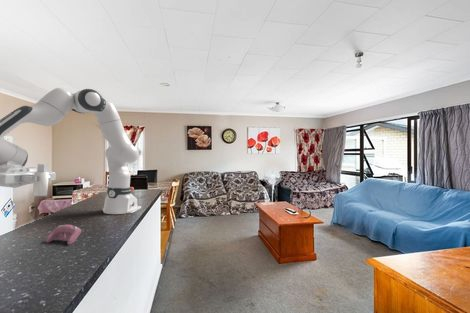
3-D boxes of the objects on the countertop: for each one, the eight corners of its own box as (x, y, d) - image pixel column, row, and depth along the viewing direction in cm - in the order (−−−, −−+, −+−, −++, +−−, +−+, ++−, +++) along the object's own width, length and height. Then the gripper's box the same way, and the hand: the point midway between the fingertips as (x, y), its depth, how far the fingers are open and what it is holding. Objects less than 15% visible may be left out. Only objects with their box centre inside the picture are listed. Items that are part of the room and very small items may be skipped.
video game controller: (77, 246, 82) (85, 226, 86) (68, 244, 78) (77, 224, 82) (52, 243, 83) (61, 224, 86) (43, 242, 79) (52, 222, 82)
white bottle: (38, 194, 89) (40, 164, 89) (49, 195, 88) (51, 164, 88) (30, 195, 86) (33, 164, 86) (41, 196, 85) (44, 164, 85)
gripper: (-20, 168, 79) (13, 171, 77) (39, 167, 99) (67, 169, 97) (-21, 186, 78) (12, 189, 76) (38, 182, 99) (65, 184, 97)
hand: (43, 178), depth 87 cm, fingers closed on white bottle, 3 cm apart
